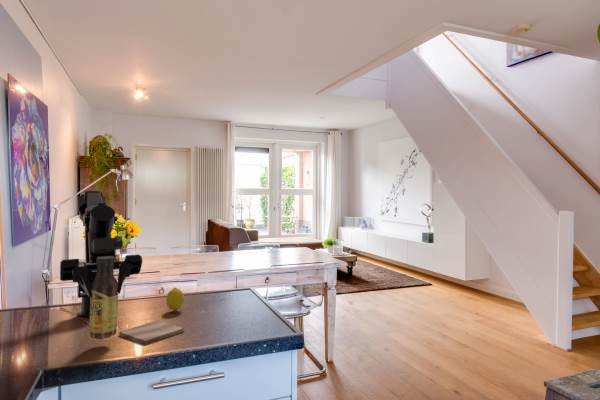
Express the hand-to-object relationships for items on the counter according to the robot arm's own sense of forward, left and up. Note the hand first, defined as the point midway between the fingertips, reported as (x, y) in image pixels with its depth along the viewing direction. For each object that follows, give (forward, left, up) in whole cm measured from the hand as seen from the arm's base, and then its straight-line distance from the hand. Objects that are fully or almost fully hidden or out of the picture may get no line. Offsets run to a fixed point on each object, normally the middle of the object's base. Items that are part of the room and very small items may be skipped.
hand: (104, 294), depth 93 cm
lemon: (-8, +32, -13) cm, 35 cm away
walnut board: (+2, +13, -13) cm, 19 cm away
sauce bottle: (-1, +1, -11) cm, 11 cm away
